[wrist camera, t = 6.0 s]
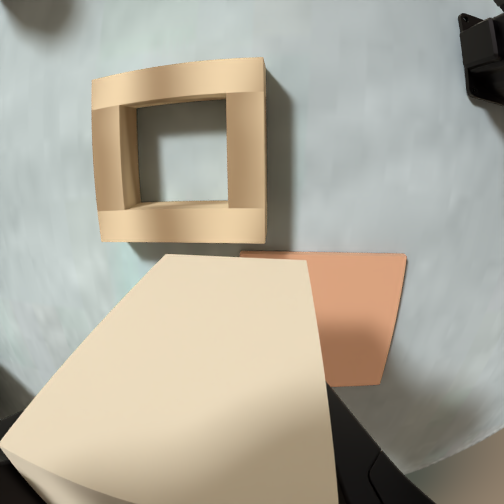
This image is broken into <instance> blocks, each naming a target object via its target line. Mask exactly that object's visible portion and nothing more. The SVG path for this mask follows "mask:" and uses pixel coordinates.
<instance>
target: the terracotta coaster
mask: <svg viewBox="0 0 504 504" xmlns="http://www.w3.org/2000/svg"><path fill="white" fill-rule="evenodd" d="M240 257H244V258H266V259H290V260H306V261H307V267H308V272H309V278H310V284H311V290H312V296H313V302H314V308H315V314H316V320H317V326H318V333H319V339H320V346H321V353H322V360H323V367H324V374H325V380H326V382H327V383H328V384H329V385H330V387H339V386H363V385H380V382H381V378H382V375H383V371H384V367H385V363H386V359H387V355H388V351H389V347H390V343H391V339H392V335H393V330H394V326H395V321H396V316H397V311H398V306H399V301H400V296H401V290H402V284H403V278H404V272H405V266H406V259H407V256H406V255H405V254H397V253H341V252H284V251H241V252H240Z"/></svg>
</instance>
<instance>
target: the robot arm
mask: <svg viewBox="0 0 504 504" xmlns="http://www.w3.org/2000/svg"><path fill="white" fill-rule="evenodd" d="M494 2H495V3H496V4H497V6H500V8H501V9H502V11H503V12H504V0H494ZM463 18H464V19H465V20H466V21H467V22H465V21H464V19H463ZM458 21H459V27H460V41H461V48H462V57H463V65H464V67H465V78H466V90H467V93H468V95H469V96H471V97H473V98H477V99H480V100H484V101H488V102H491V103H495V104H498V105H501V106H504V13H502V14H500V15H498V16H496V17H494V18H487V19H485V20H482V19H479V18H476V17H474V16H471V15H468V14H465V13H462V14H461V15H459V16H458ZM472 87H473V88H474V90H475V93H473V91H472ZM325 382H326V380H325ZM326 389H327V397H328V405H329V413H330V421H331V430H332V439H333V448H334V458H335V468H336V479H337V491H338V504H436V503H435V502H433V501H432V500H431V499H430V498H429V497H428V496H427V495H425V494H424V493H423V492H422V491H421V490H420V489H419V488H417V487H416V486H415V485H414V484H413V483H412V482H411V481H410V480H409V479H408V478H407V477H406V476H405V475H404V474H403V473H402V472H401V471H400V470H399V469H398V468H397V467H396V466H395V465H394V463H393V462H392V461H391V460H390V459H389V458H388V457H387V455H386V454H385V453H384V452H383V451H381V448H380V447H379V446H378V445H377V443H376V442H375V441H374V440H373V438H372V437H371V436H370V435H369V434H368V432H367V431H366V430H365V429H364V427H363V426H362V425H361V424H360V423H359V421H358V420H357V419H356V418H355V416H354V415H353V414H352V413H351V411H350V410H349V409H348V408H347V407H346V405H345V404H344V403H343V402H342V400H341V399H340V398H339V397H338V395H337V394H336V393H335V392H334V390H333V389H332V388H331V387H330V385H329V384H328V383H327V382H326ZM24 410H25V409H24ZM24 410H22V411H20V412H18V413H16V414H14V415H11V416H9V417H7V418H4V419H2V420H0V441H1V440H2V438H3V437H4V436H5V434H6V433H7V432H8V430H9V429H10V428H11V427H12V425H13V424H14V423H15V422H16V420H17V419H18V418H19V417H20V415H21V414H22V413H23V412H24ZM0 504H47V503H46V502H45V501H44V500H43V499H42V498H41V497H40V496H39V495H38V494H37V492H36V491H35V490H34V489H33V488H32V487H31V486H30V485H29V483H28V482H27V481H26V480H25V479H24V477H23V476H22V475H21V474H20V473H19V471H18V470H17V469H16V468H15V466H14V465H13V464H12V463H11V461H10V460H9V459H8V457H7V456H6V455H5V453H4V452H3V451H2V449H1V448H0Z"/></svg>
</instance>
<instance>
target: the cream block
mask: <svg viewBox="0 0 504 504" xmlns="http://www.w3.org/2000/svg"><path fill="white" fill-rule="evenodd" d="M0 448H1V449H2V451H3V452H4V453H5V455H6V456H7V457H8V459H9V460H10V461H11V463H12V464H13V465H14V466H15V468H16V469H17V470H18V471H19V473H20V474H21V475H22V476H23V477H24V479H25V480H26V481H27V482H28V483H29V485H30V486H31V487H32V488H33V489H34V490H35V491H36V492H37V494H38V495H39V496H40V497H41V498H42V499H43V500H44V501H45V502H46V503H47V504H338V491H337V479H336V468H335V458H334V448H333V439H332V430H331V421H330V413H329V405H328V397H327V389H326V382H325V374H324V367H323V360H322V353H321V346H320V339H319V333H318V326H317V320H316V314H315V308H314V302H313V296H312V290H311V284H310V278H309V272H308V267H307V261H306V260H290V259H266V258H244V257H221V256H199V255H177V254H165V255H164V256H163V257H162V258H161V259H160V260H159V261H158V262H157V263H156V264H155V265H154V266H153V268H152V269H151V270H150V271H149V272H148V273H147V274H146V275H145V276H144V277H143V278H142V279H141V280H140V281H139V282H138V283H137V284H136V285H135V286H134V287H133V288H132V289H131V290H130V291H129V292H128V293H127V294H126V295H125V297H124V298H123V299H122V300H121V301H120V302H119V303H118V304H117V305H116V306H115V307H114V308H113V309H112V310H111V311H110V313H109V314H108V315H107V316H106V317H105V318H104V319H103V320H102V321H101V322H100V323H99V324H98V326H97V327H96V328H95V329H94V330H93V331H92V332H91V333H90V334H89V335H88V337H87V338H86V339H85V340H84V341H83V342H82V343H81V344H80V346H79V347H78V348H77V349H76V350H75V351H74V352H73V353H72V355H71V356H70V357H69V358H68V359H67V360H66V361H65V363H64V364H63V365H62V366H61V367H60V368H59V370H58V371H57V372H56V373H55V374H54V375H53V377H52V378H51V379H50V380H49V381H48V382H47V384H46V385H45V386H44V387H43V388H42V390H41V391H40V392H39V393H38V394H37V396H36V397H35V398H34V399H33V400H32V402H31V403H30V404H29V405H28V407H27V408H26V409H25V410H24V412H23V413H22V414H21V415H20V417H19V418H18V419H17V420H16V422H15V423H14V424H13V425H12V427H11V428H10V429H9V430H8V432H7V433H6V434H5V436H4V437H3V438H2V440H1V441H0Z"/></svg>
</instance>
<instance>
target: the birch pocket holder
mask: <svg viewBox="0 0 504 504" xmlns="http://www.w3.org/2000/svg"><path fill="white" fill-rule="evenodd" d="M222 99H226V121H227V171H228V201H171V202H141V196H140V182H139V166H138V144H137V108H141V107H149V106H156V105H164V104H173V103H183V102H194V101H207V100H222ZM92 146H93V164H94V178H95V190H96V200H97V210H98V218H99V226H100V234H101V241H102V242H186V243H262V244H265V241H266V235H267V128H266V67H265V63H264V59H263V57H256V58H233V59H218V60H207V61H197V62H188V63H180V64H172V65H165V66H158V67H152V68H146V69H141V70H135V71H130V72H125V73H120V74H116V75H111V76H107V77H102V78H98V79H94V80H92Z"/></svg>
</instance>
